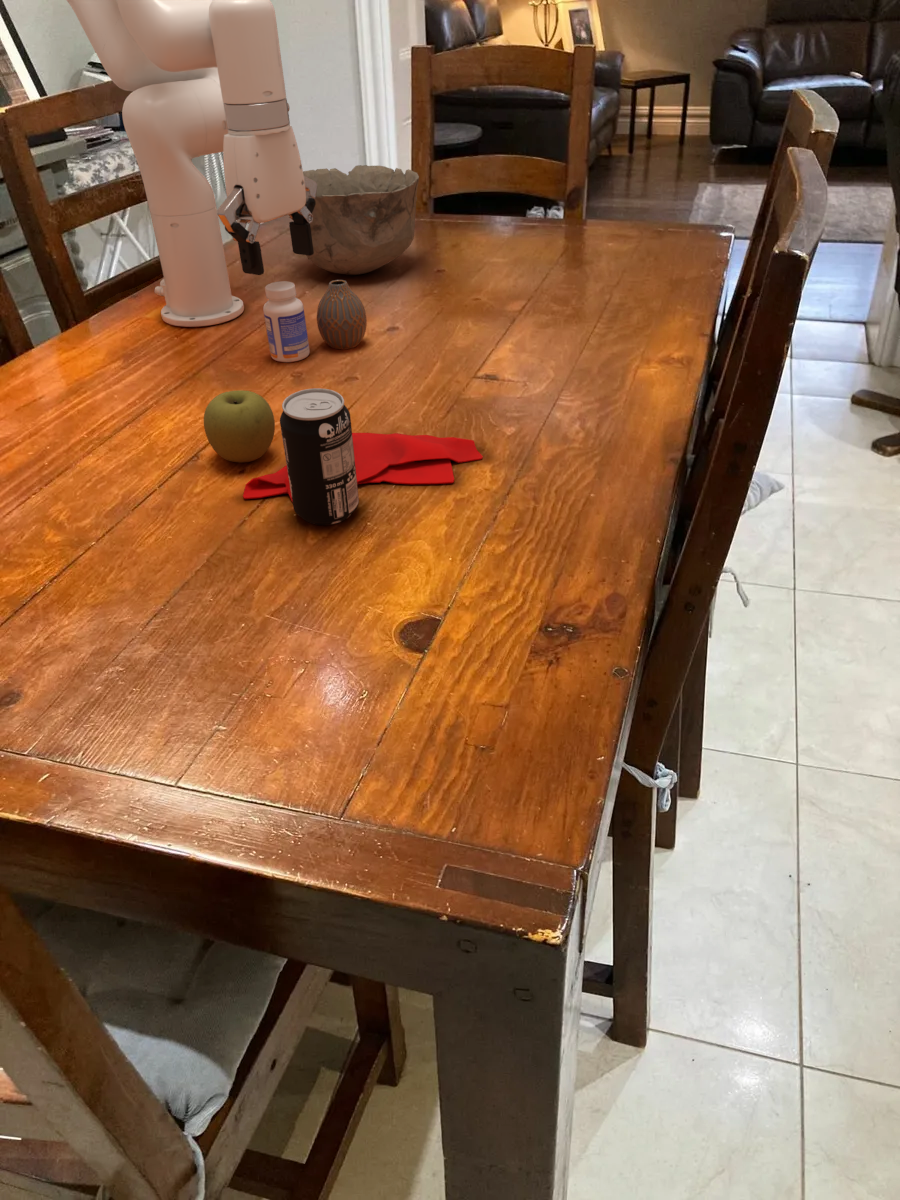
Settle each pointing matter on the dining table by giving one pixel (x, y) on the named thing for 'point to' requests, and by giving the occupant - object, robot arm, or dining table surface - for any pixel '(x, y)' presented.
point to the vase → (341, 316)
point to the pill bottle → (285, 323)
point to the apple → (239, 425)
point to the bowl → (362, 217)
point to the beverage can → (319, 455)
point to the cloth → (387, 462)
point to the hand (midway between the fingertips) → (279, 263)
